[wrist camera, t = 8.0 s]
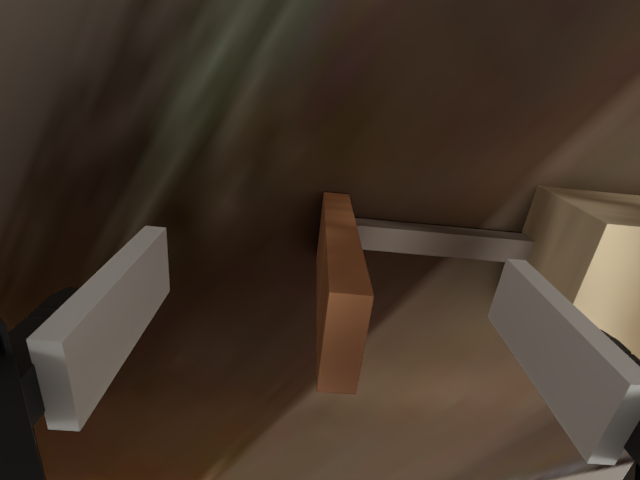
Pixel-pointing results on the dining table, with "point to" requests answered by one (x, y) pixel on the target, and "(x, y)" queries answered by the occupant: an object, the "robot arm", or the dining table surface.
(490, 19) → the dining table surface
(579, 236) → the birch block
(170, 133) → the dining table surface
